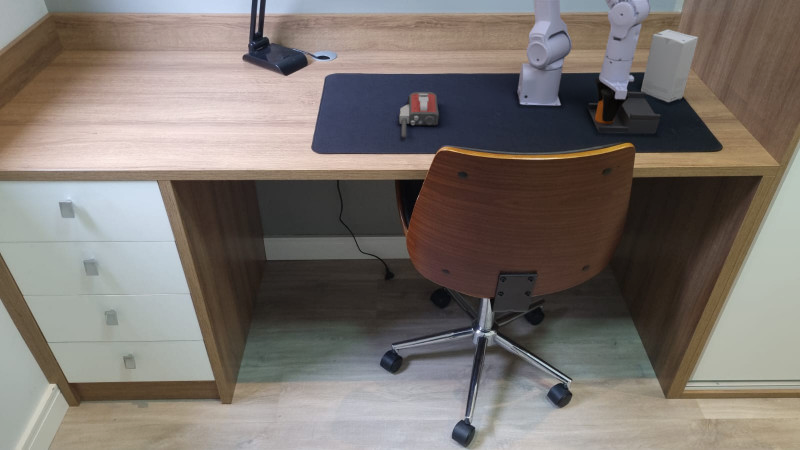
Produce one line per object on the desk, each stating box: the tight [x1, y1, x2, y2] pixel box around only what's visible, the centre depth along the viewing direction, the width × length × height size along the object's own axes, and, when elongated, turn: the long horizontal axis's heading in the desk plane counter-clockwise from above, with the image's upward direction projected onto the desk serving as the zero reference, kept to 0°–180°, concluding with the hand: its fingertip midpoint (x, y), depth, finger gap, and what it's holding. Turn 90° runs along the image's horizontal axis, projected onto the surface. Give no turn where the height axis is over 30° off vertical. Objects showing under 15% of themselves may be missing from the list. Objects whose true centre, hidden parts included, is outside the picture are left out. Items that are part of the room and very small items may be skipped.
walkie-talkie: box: [398, 91, 440, 139], centre depth 126 cm, size 9×4×20 cm
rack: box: [587, 91, 661, 135], centre depth 125 cm, size 12×12×5 cm
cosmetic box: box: [640, 29, 699, 103], centre depth 133 cm, size 8×6×15 cm
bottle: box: [595, 100, 615, 124], centre depth 124 cm, size 4×4×6 cm
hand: (605, 115), depth 126 cm, fingers closed on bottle, 4 cm apart
